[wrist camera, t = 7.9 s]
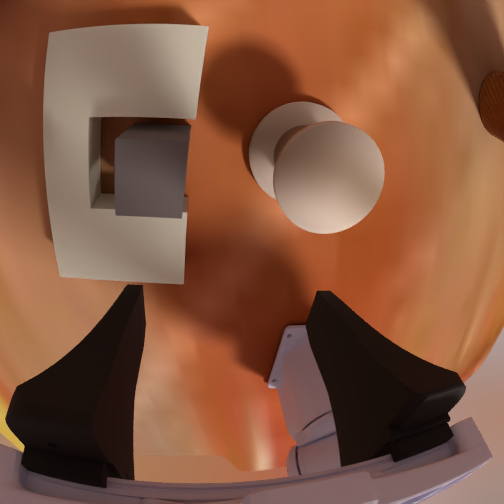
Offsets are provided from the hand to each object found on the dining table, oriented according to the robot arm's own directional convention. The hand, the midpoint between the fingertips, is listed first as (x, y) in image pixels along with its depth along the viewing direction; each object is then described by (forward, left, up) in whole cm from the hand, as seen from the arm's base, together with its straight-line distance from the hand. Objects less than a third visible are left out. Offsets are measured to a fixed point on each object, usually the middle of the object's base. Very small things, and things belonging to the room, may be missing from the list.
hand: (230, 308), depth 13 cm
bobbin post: (+4, -5, -10) cm, 12 cm away
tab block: (+3, +4, -10) cm, 11 cm away
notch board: (+3, +6, -10) cm, 12 cm away
